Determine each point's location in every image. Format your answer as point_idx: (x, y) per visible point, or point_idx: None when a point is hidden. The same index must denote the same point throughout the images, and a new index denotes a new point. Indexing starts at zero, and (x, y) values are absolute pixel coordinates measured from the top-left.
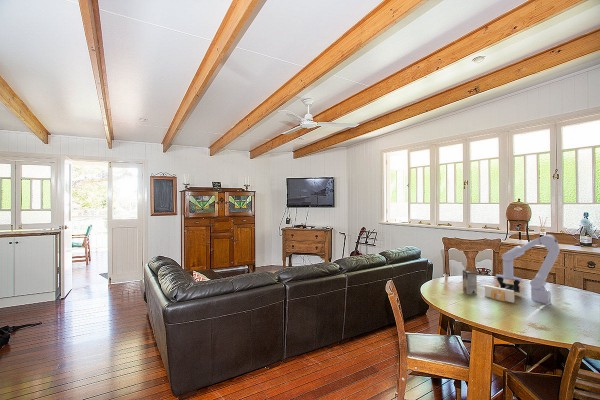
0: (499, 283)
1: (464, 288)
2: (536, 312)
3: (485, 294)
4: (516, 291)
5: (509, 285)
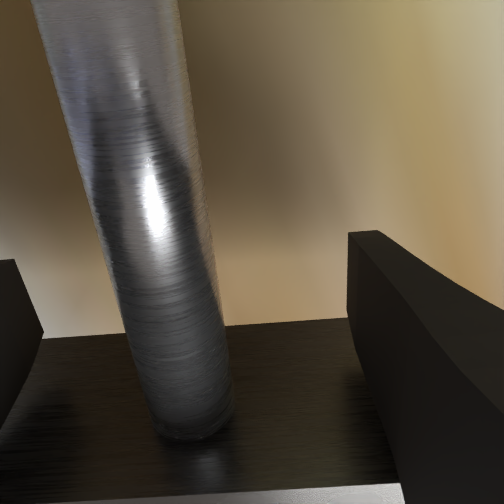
0: (500, 310)
1: None
2: None
3: None
4: (47, 348)
5: (191, 449)
